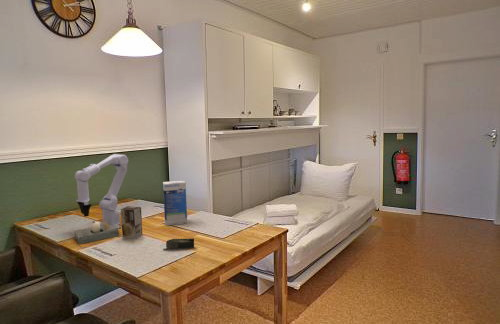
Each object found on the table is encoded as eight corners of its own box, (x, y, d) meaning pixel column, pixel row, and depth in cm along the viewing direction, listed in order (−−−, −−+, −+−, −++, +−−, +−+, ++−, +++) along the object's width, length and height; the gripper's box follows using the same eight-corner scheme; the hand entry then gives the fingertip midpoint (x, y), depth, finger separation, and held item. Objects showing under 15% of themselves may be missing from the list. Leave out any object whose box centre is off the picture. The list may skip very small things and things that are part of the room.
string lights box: (185, 220, 218) (184, 180, 215) (187, 223, 211) (186, 182, 208) (164, 222, 214) (162, 181, 211) (165, 226, 207) (163, 183, 204)
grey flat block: (112, 229, 201) (112, 223, 201) (118, 236, 190) (118, 229, 190) (74, 236, 190) (74, 230, 189) (79, 244, 178) (78, 237, 178)
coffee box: (143, 235, 191) (141, 206, 189) (135, 239, 185) (134, 209, 183) (129, 233, 194) (127, 205, 192) (121, 237, 188) (120, 208, 186)
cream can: (100, 231, 191) (99, 219, 190) (100, 233, 187) (99, 221, 186) (92, 232, 189) (91, 220, 188) (92, 234, 186) (91, 222, 185)
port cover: (117, 225, 198) (116, 219, 198) (121, 228, 192) (120, 223, 191) (103, 227, 194) (103, 222, 193) (106, 231, 187) (106, 225, 187)
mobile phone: (194, 237, 173) (163, 239, 170) (194, 239, 170) (163, 241, 167) (194, 246, 174) (163, 248, 171) (194, 248, 171) (163, 251, 168)
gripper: (73, 190, 199) (75, 213, 201) (77, 194, 187) (79, 218, 189) (86, 188, 203) (88, 211, 205) (91, 193, 192) (93, 216, 193)
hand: (85, 214), depth 197 cm, fingers open, 7 cm apart
